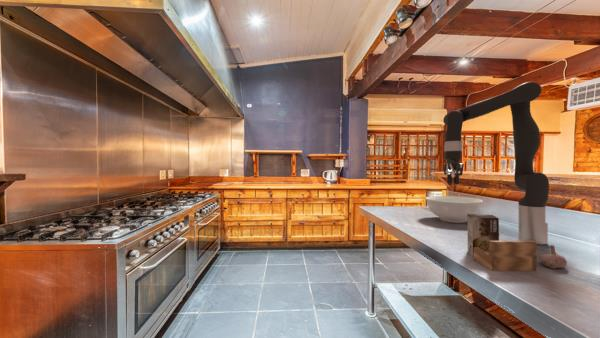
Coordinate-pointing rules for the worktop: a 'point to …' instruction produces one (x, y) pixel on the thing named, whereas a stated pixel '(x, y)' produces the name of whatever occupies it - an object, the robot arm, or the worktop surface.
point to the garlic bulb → (553, 259)
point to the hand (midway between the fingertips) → (452, 183)
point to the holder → (508, 256)
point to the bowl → (453, 207)
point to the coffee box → (481, 231)
